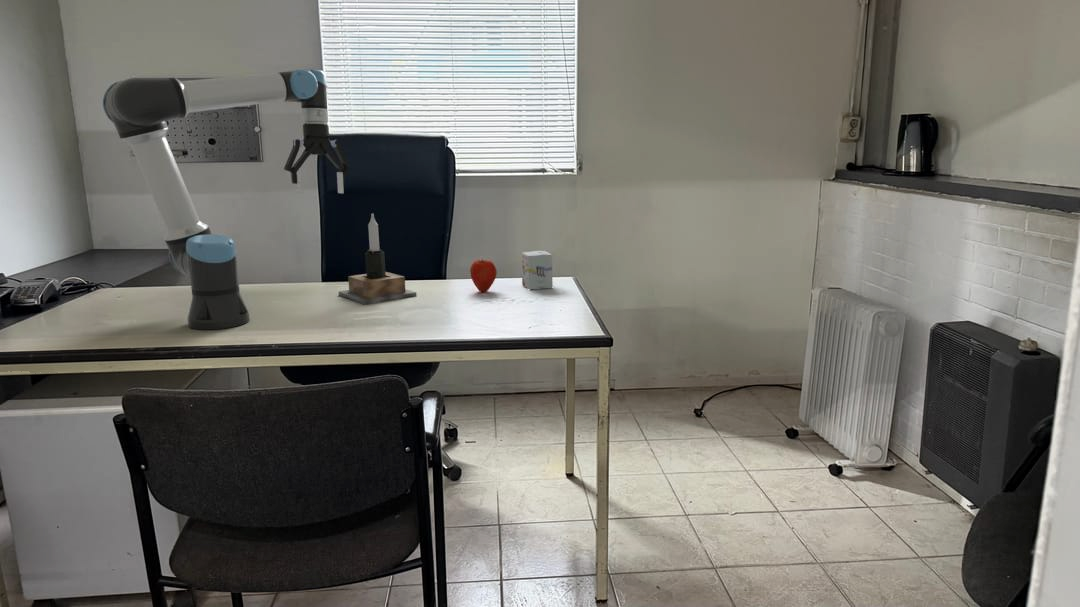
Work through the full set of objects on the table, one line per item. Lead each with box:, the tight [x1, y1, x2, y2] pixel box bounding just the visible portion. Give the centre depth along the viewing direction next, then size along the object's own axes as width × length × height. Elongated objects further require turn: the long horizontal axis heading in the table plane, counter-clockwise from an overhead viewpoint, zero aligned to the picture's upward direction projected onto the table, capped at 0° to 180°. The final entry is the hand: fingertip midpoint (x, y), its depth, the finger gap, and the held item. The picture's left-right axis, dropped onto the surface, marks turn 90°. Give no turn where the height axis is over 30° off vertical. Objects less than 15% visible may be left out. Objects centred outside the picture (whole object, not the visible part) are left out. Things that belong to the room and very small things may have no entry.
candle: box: [364, 213, 386, 279], centre depth 216 cm, size 5×5×25 cm
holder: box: [338, 271, 418, 305], centre depth 219 cm, size 18×18×6 cm
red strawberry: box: [469, 258, 498, 293], centre depth 223 cm, size 9×8×11 cm
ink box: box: [521, 250, 554, 290], centre depth 230 cm, size 9×9×12 cm
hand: (320, 194), depth 212 cm, fingers open, 13 cm apart
